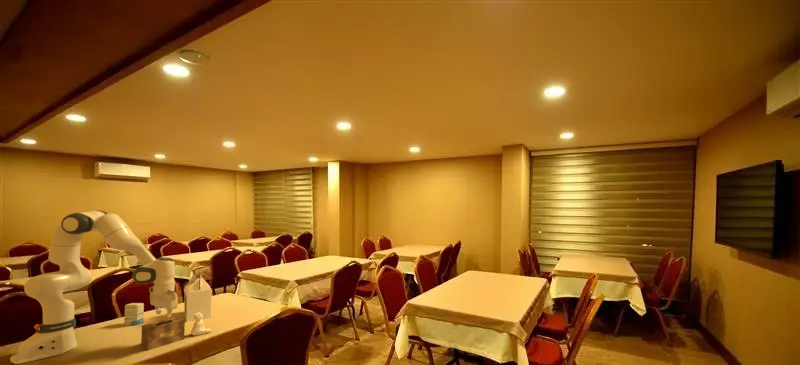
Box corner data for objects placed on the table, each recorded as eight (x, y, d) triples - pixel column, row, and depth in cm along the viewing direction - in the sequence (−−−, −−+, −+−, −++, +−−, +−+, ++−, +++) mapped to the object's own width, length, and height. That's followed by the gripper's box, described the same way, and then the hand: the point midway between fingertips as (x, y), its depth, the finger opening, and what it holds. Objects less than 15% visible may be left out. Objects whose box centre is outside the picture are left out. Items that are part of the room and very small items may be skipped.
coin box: (148, 350, 162) (148, 329, 162) (141, 345, 168) (141, 325, 168) (184, 339, 175) (184, 320, 175) (176, 334, 181) (177, 316, 181)
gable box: (184, 312, 218) (185, 270, 219) (207, 308, 226) (207, 267, 227) (186, 322, 200) (187, 275, 202) (211, 317, 208) (212, 272, 210)
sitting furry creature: (212, 332, 183) (212, 310, 184) (196, 338, 176) (196, 315, 176) (203, 329, 188) (203, 308, 189) (186, 334, 180) (187, 312, 181)
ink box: (143, 322, 201) (144, 302, 202) (136, 325, 196) (137, 305, 197) (131, 322, 202) (131, 302, 203) (123, 325, 197) (124, 305, 198)
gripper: (181, 289, 171) (180, 316, 170) (160, 285, 180) (159, 310, 180) (168, 292, 165) (167, 320, 164) (147, 287, 175) (146, 314, 174)
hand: (163, 315), depth 172 cm, fingers open, 8 cm apart
